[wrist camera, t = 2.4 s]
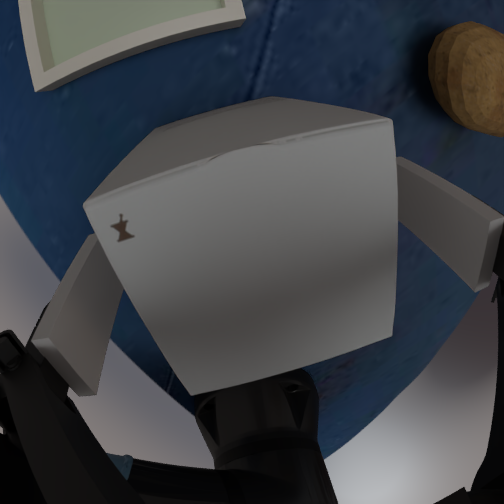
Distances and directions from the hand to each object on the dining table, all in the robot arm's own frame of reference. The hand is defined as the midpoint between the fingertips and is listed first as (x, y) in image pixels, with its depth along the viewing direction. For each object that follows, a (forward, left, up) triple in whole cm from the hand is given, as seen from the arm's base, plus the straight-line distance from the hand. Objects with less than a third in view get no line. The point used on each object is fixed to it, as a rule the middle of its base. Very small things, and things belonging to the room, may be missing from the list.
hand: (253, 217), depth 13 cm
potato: (+5, -22, -10) cm, 25 cm away
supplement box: (0, 0, -10) cm, 10 cm away
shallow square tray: (+17, +4, -10) cm, 20 cm away
